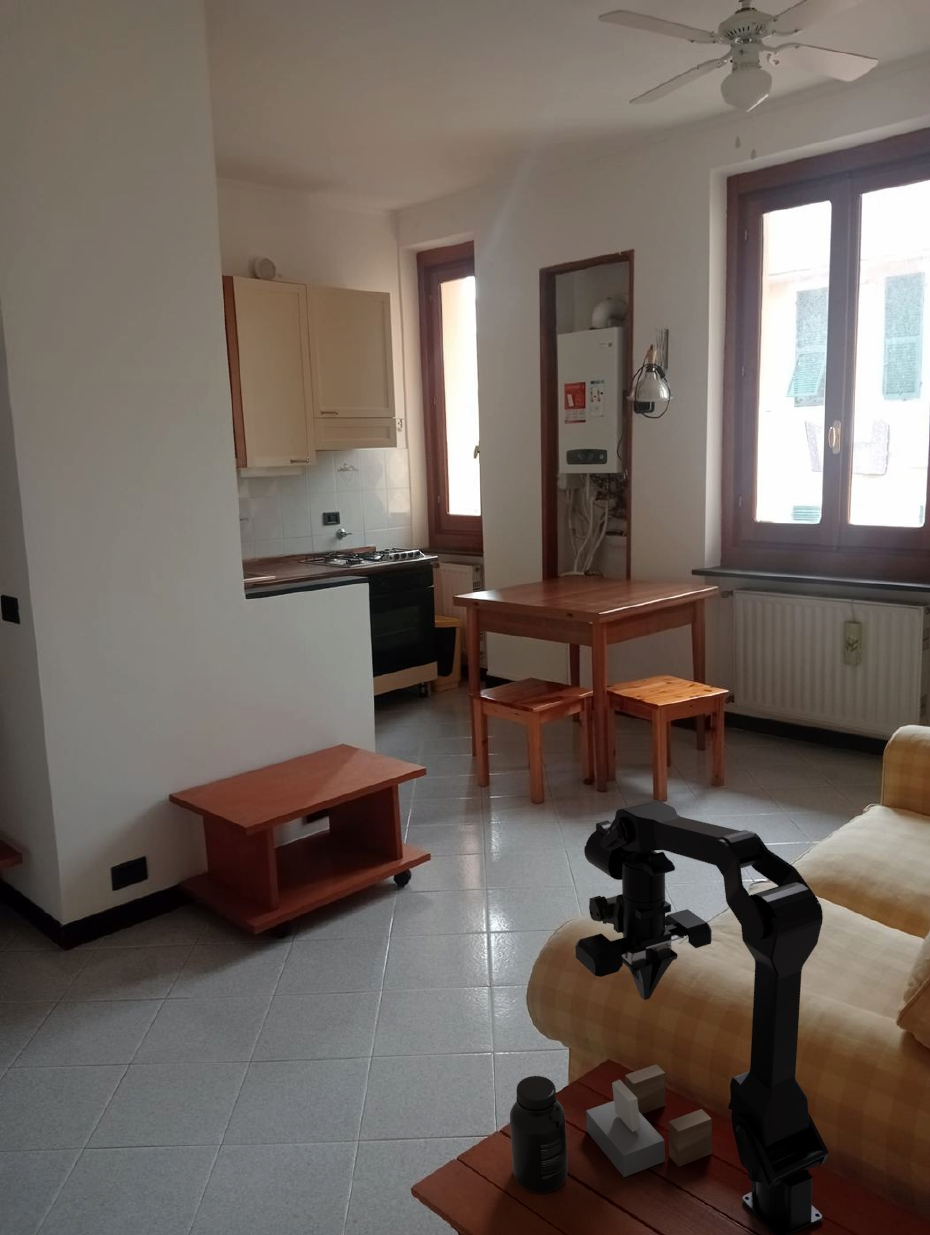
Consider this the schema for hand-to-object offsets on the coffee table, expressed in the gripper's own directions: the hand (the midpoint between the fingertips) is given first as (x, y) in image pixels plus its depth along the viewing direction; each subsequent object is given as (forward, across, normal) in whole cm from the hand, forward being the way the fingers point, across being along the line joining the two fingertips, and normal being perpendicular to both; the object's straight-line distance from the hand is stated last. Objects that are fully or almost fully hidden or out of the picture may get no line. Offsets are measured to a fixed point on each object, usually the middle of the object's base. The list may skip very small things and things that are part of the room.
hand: (644, 998), depth 131 cm
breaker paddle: (+10, +9, +9) cm, 16 cm away
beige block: (+13, +3, +14) cm, 19 cm away
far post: (+13, +3, +4) cm, 14 cm away
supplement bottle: (+13, +21, +8) cm, 26 cm away
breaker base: (+13, +9, +9) cm, 18 cm away
